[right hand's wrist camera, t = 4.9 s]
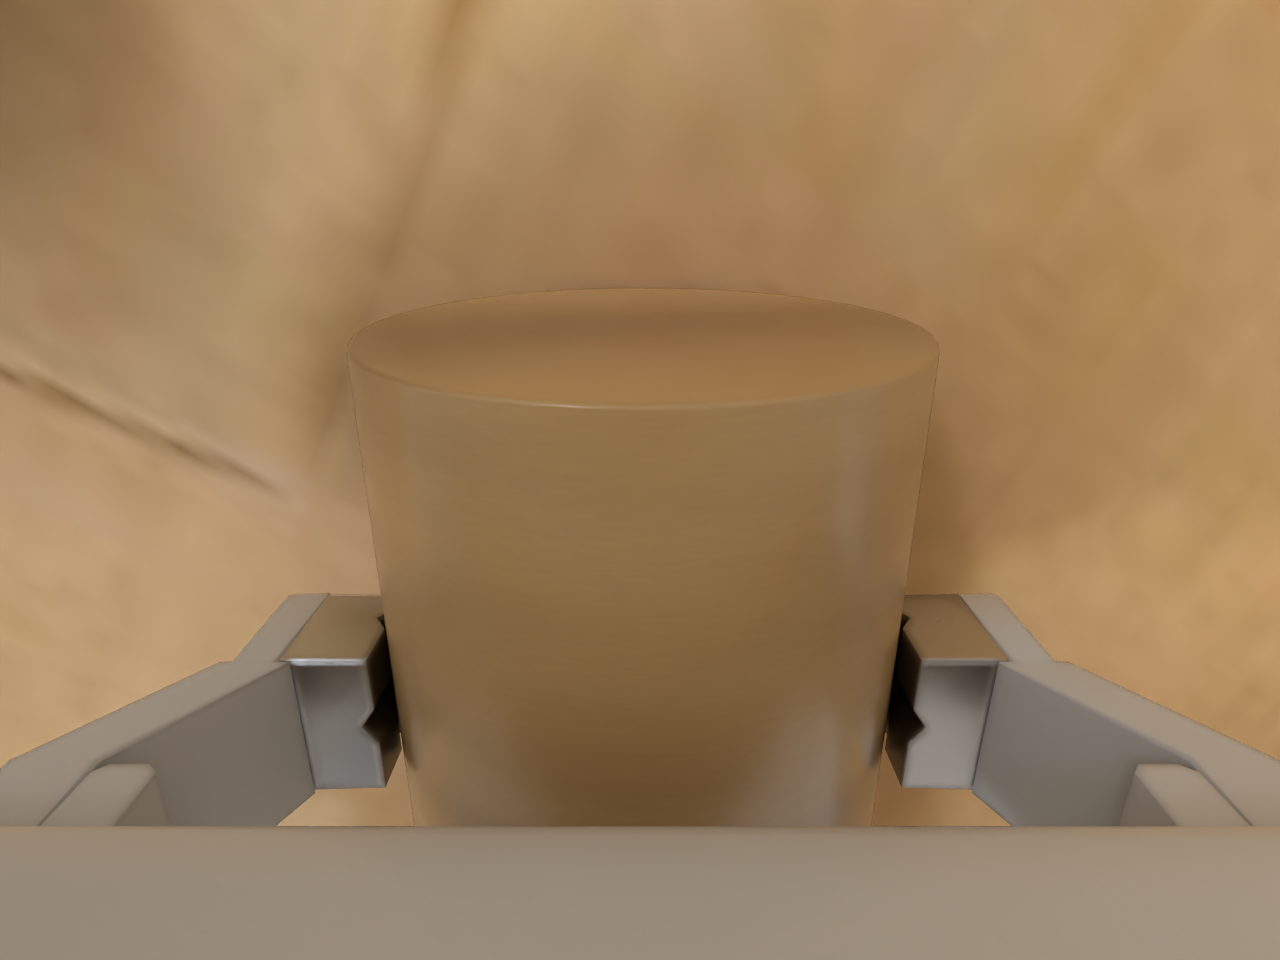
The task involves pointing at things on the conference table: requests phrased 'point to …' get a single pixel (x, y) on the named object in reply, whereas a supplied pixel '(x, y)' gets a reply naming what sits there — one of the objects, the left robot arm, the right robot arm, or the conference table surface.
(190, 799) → the right robot arm
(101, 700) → the conference table surface
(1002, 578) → the conference table surface
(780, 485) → the rod
